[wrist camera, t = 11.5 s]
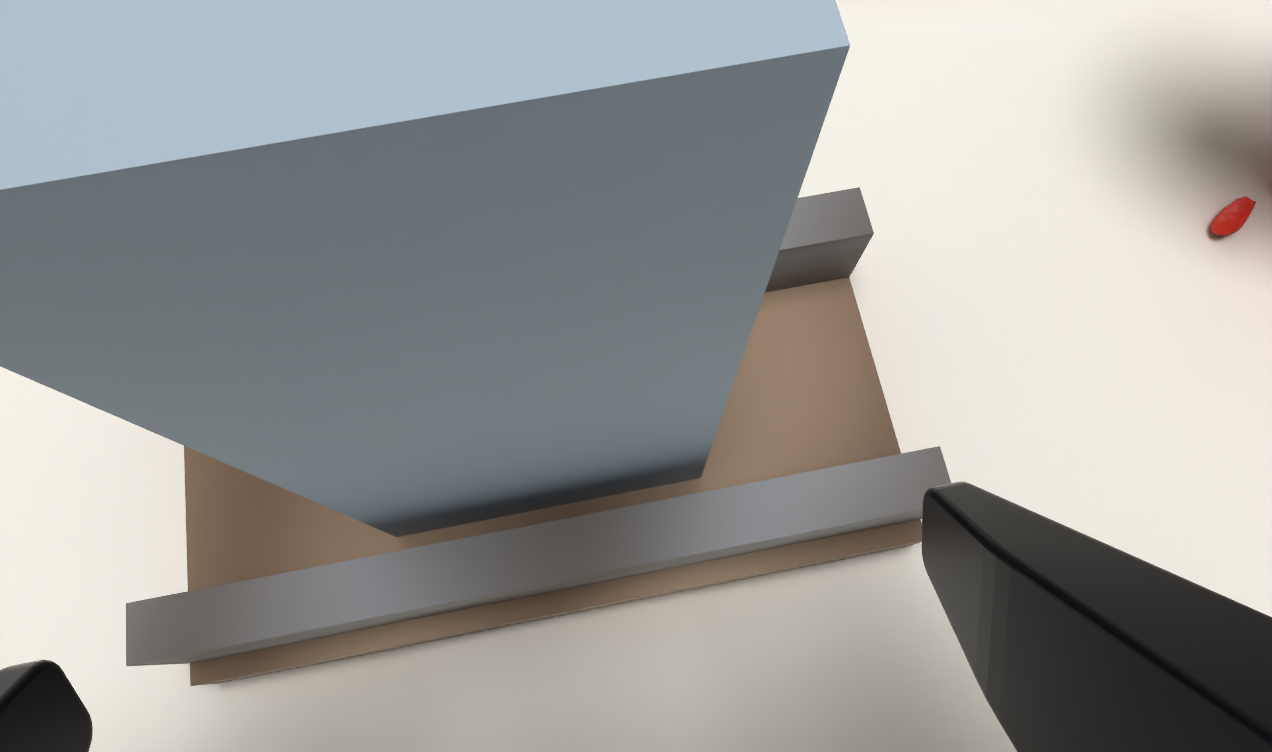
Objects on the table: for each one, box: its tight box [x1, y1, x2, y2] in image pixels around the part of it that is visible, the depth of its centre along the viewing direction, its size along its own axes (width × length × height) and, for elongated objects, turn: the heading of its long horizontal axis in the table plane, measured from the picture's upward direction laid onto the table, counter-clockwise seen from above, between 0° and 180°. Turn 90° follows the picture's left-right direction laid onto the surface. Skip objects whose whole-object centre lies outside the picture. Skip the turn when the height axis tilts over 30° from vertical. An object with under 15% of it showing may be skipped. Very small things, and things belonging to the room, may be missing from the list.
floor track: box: [126, 187, 951, 686], centre depth 16 cm, size 14×7×3 cm, turn 101°
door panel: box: [0, 0, 850, 537], centre depth 11 cm, size 6×3×12 cm, turn 101°
